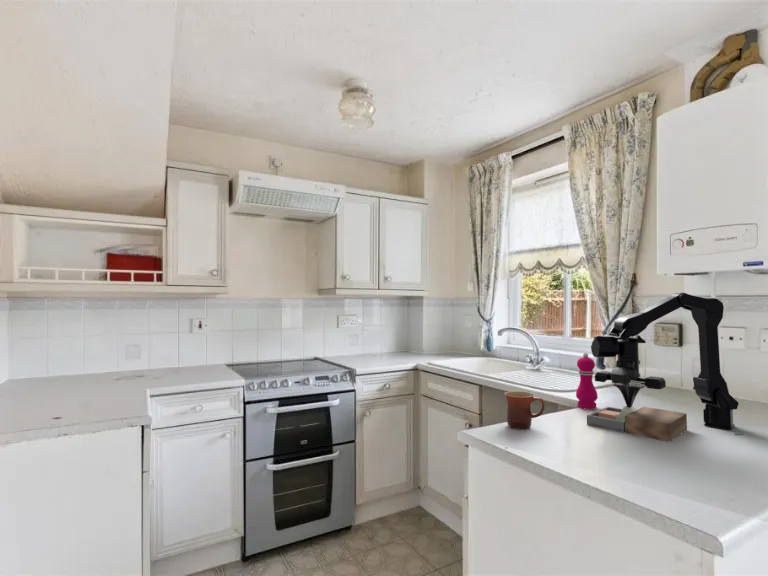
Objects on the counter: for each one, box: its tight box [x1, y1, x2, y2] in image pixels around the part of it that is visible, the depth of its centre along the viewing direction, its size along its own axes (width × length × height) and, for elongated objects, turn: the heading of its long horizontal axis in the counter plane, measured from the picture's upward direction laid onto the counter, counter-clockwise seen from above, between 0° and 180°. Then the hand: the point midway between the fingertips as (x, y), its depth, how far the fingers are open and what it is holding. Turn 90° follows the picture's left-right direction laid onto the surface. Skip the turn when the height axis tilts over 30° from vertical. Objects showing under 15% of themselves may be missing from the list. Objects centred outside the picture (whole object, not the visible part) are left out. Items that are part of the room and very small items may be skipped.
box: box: [586, 406, 625, 433], centre depth 137 cm, size 11×16×3 cm
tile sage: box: [616, 405, 638, 421], centre depth 135 cm, size 5×5×2 cm
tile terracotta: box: [598, 410, 620, 420], centre depth 138 cm, size 5×5×2 cm
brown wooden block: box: [624, 406, 688, 443], centre depth 128 cm, size 12×16×5 cm
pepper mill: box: [575, 352, 598, 410], centre depth 158 cm, size 7×7×20 cm
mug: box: [503, 390, 546, 430], centre depth 134 cm, size 12×9×10 cm
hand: (629, 407), depth 134 cm, fingers closed
